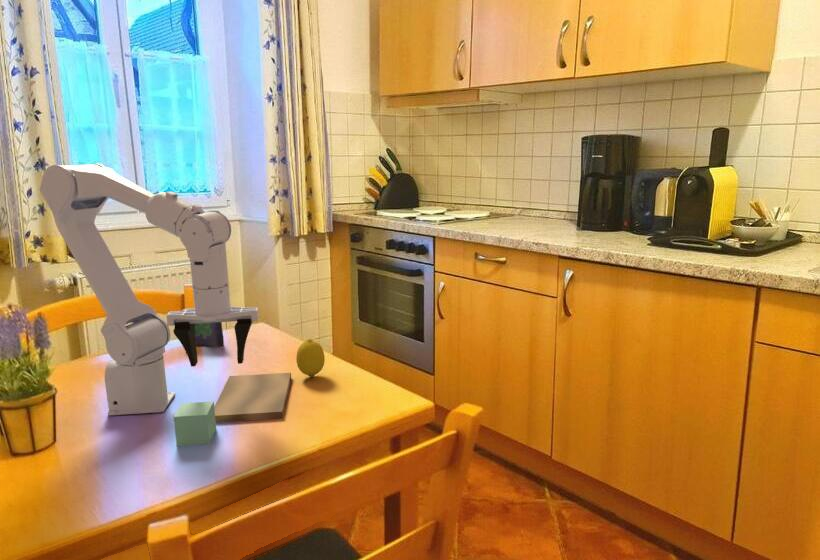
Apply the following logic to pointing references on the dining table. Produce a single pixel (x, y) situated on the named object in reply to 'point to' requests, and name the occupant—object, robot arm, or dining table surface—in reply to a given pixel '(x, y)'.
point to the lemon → (310, 358)
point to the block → (195, 423)
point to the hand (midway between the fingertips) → (217, 363)
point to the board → (253, 397)
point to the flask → (208, 334)
